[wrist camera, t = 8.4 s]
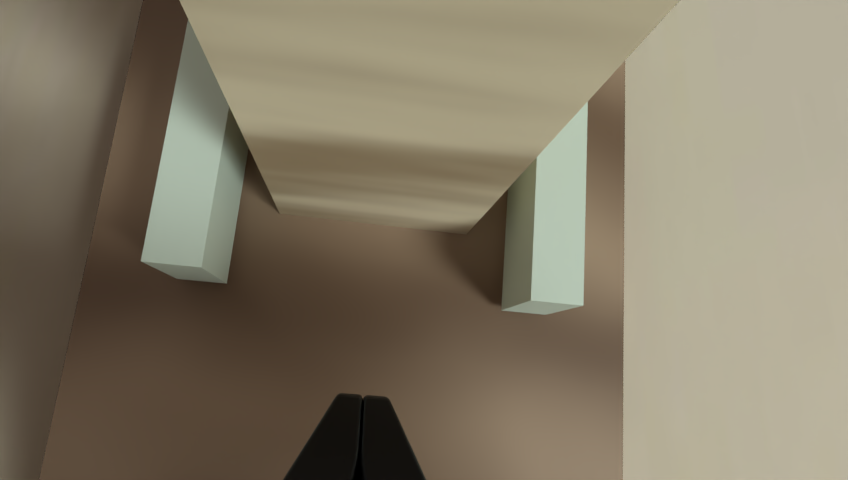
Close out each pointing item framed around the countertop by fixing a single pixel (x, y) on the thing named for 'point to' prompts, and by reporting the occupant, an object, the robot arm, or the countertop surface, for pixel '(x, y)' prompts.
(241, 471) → the board
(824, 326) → the countertop surface
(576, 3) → the cream tall rectangular block
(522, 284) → the sled
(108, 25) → the countertop surface
